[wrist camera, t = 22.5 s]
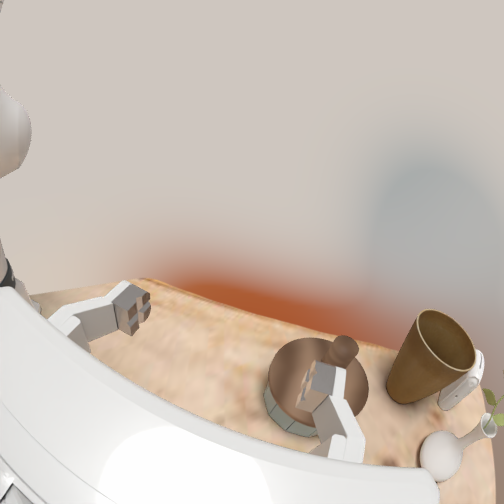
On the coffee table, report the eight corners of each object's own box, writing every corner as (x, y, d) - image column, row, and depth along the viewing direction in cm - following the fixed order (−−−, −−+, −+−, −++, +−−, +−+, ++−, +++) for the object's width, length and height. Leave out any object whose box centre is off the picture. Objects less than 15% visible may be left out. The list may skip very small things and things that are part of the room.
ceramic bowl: (253, 420, 35) (263, 405, 32) (277, 356, 47) (286, 336, 44) (336, 444, 33) (355, 431, 30) (346, 378, 45) (361, 360, 42)
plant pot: (427, 424, 36) (483, 378, 28) (367, 410, 39) (421, 358, 31) (425, 370, 48) (467, 321, 40) (373, 352, 51) (413, 298, 43)
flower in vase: (458, 475, 25) (560, 403, 12) (418, 491, 24) (540, 420, 11) (446, 424, 36) (532, 343, 23) (408, 432, 35) (507, 344, 22)
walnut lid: (261, 420, 30) (283, 390, 25) (273, 333, 44) (290, 292, 39) (368, 430, 30) (406, 401, 25) (359, 350, 44) (384, 314, 39)
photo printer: (447, 414, 38) (486, 381, 31) (435, 405, 40) (473, 370, 34) (455, 384, 45) (488, 351, 38) (444, 376, 47) (476, 341, 41)
